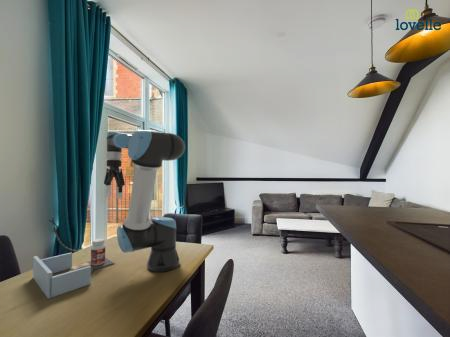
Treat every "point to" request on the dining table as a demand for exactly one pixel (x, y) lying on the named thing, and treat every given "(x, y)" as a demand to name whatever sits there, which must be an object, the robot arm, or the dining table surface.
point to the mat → (107, 263)
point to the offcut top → (80, 266)
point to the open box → (62, 281)
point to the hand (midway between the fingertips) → (113, 197)
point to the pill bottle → (98, 252)
